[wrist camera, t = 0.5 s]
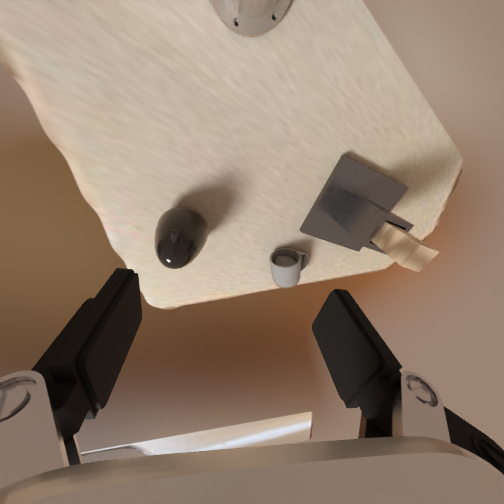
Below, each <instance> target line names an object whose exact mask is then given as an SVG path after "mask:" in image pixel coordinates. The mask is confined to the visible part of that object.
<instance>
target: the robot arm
mask: <svg viewBox="0 0 504 504" xmlns="http://www.w3.org/2000/svg"><path fill="white" fill-rule="evenodd" d="M210 1H211V3H212V6H213V8H214V10H215V12H216V13H217V14H218V16H219V17H220V19H221V20H222V21H223V22H224V23H225V24H226V26H227V27H228V28H230V29H231V30H233V31H234V32H236V33H238V34H240V35H243V36H248V37H255V36H260V35H263V34H265V33H267V32H269V31H270V30H271V29H272V28H274V27H275V26H276V25H277V23H278V22H279V21H280V20H281V19H282V17H283V15H284V14H285V12H286V10H287V8H288V6H289V4H290V2H291V0H210ZM272 16H274V17H275V20H273V19H272ZM235 22H237V23H238V26H235ZM141 320H142V308H141V298H140V287H139V277H138V273H134V271H133V270H132V269H123V268H117V269H116V270H115V271H114V273H113V274H112V275H111V276H110V278H109V279H108V281H107V282H106V283H105V285H104V286H103V287H102V289H101V290H100V291H99V293H98V294H97V295H96V297H95V298H89V299H87V300H86V301H85V302H84V303H83V304H82V306H81V307H80V308H79V310H78V311H77V312H76V314H75V315H74V316H73V317H72V319H71V320H70V321H69V322H68V324H67V325H66V326H65V327H64V329H63V330H62V331H61V333H60V334H59V335H58V336H57V338H56V339H55V340H54V342H53V343H52V344H51V345H50V347H49V348H48V349H47V350H46V352H45V353H44V354H43V356H42V357H41V358H40V360H39V361H38V362H37V363H36V365H35V366H34V367H33V368H32V370H31V371H27V370H26V371H20V372H15V373H12V374H9V375H7V376H4V377H2V378H0V504H504V450H503V449H502V448H501V447H500V446H499V445H497V444H496V443H495V442H494V441H493V440H492V439H491V438H489V437H488V436H487V435H485V434H484V433H482V432H481V431H479V430H478V429H477V428H475V427H474V426H472V425H471V424H469V423H468V422H466V421H465V420H463V419H462V418H460V417H459V416H458V415H456V414H454V413H453V412H452V411H450V410H449V409H447V408H446V407H444V406H443V402H442V400H441V397H440V396H439V394H438V392H437V391H436V390H435V388H434V387H433V386H432V385H431V384H430V383H429V382H428V381H427V380H426V379H424V378H423V377H421V376H420V375H418V374H416V373H414V372H411V371H404V372H403V373H402V374H401V372H400V371H399V370H400V369H401V368H402V366H401V364H400V363H399V362H398V360H397V359H396V358H395V356H394V355H393V354H392V352H391V350H390V349H389V348H388V346H387V345H386V343H385V342H384V341H383V339H382V338H381V337H380V335H379V334H378V332H377V331H376V330H375V328H374V327H373V325H372V324H371V323H370V321H369V320H368V318H367V317H366V316H365V314H364V313H363V311H362V310H361V309H360V307H359V306H358V304H357V303H356V302H355V300H354V299H353V297H352V296H351V295H350V293H349V292H348V291H347V290H341V289H335V290H333V291H332V292H331V293H330V294H329V296H328V298H327V299H326V301H325V303H324V305H323V306H322V308H321V310H320V312H319V313H318V315H317V317H316V319H315V320H314V322H313V324H312V330H313V333H314V336H315V338H316V340H317V343H318V345H319V348H320V350H321V353H322V355H323V357H324V360H325V362H326V365H327V367H328V369H329V372H330V374H331V377H332V379H333V382H334V384H335V387H336V389H337V392H338V394H339V396H340V398H341V399H342V400H343V401H344V403H345V405H346V407H347V408H357V407H358V406H359V407H360V409H361V411H362V413H361V420H360V428H359V436H358V439H350V440H337V441H323V442H309V443H297V444H284V445H271V446H259V447H246V448H234V449H222V450H210V451H198V452H186V453H174V454H163V455H152V456H143V457H133V458H124V459H114V460H104V461H98V462H91V463H85V464H84V463H83V460H82V456H81V453H80V449H79V446H78V442H77V439H76V435H75V434H76V433H77V432H79V429H80V427H81V425H82V423H83V421H84V419H95V417H96V415H97V412H98V410H99V409H103V408H104V407H105V405H106V404H107V401H108V399H109V397H110V394H111V392H112V389H113V387H114V385H115V382H116V380H117V378H118V375H119V373H120V371H121V368H122V366H123V363H124V361H125V359H126V356H127V354H128V351H129V349H130V347H131V344H132V342H133V340H134V337H135V335H136V333H137V330H138V328H139V325H140V323H141Z"/></svg>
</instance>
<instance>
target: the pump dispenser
mask: <svg viewBox="0 0 504 504" xmlns="http://www.w3.org/2000/svg"><path fill="white" fill-rule="evenodd" d="M207 238H208V226H207V223H206V221H205V220H204V218H203V217H202V216H201V215H200V214H199V213H197V212H196V211H194V210H192V209H190V208H185V207H177V208H172V209H170V210H168V211H166V212H165V213H164V214H163V215H162V216H161V217H160V219H159V221H158V223H157V227H156V231H155V252H156V255H157V257H158V259H159V261H160V262H161V263H162V264H163V265H164V266H165V267H167V268H171V269H179V268H182V267H185V266H187V265H188V264H190V263H191V262H192V261H193V260H194V259H195V258H196V257H197V256H198V255H199V253H200V252H201V251H202V249H203V247H204V245H205V243H206V241H207Z"/></svg>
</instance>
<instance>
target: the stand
mask: <svg viewBox="0 0 504 504" xmlns="http://www.w3.org/2000/svg"><path fill="white" fill-rule="evenodd" d="M407 190H408V187H406V186H404V185H402V184H400V183H398V182H396V181H394V180H393V179H391V178H389V177H387V176H385V175H383V174H381V173H379V172H377V171H375V170H373V169H371V168H369V167H367V166H365V165H363V164H361V163H359V162H357V161H355V160H353V159H351V158H349V157H347V156H344V155H342V156H341V158H340V160H339V161H338V163H337V165H336V167H335V168H334V170H333V172H332V174H331V175H330V177H329V179H328V181H327V182H326V184H325V186H324V188H323V189H322V191H321V193H320V195H319V196H318V198H317V200H316V202H315V203H314V205H313V207H312V209H311V210H310V212H309V214H308V216H307V217H306V219H305V221H304V223H303V224H302V226H301V228H300V231H301V232H302V233H305V234H308V235H311V236H314V237H317V238H320V239H323V240H326V241H329V242H332V243H335V244H338V245H341V246H344V247H346V248H349V249H352V250H355V251H358V252H359V251H360V249H361V248H362V247H363V246H364V247H367V248H370V249H373V250H375V251H378V252H381V253H384V254H386V253H385V252H384V251H383V250H382V249H380V248H379V247H378V246H377V245H376V244H374V243H373V242H372V241H371V240H372V238H373V237H374V236H375V235H376V233H377V232H378V231H379V230H380V228H381V227H382V226H383V225H384V223H385V222H386V221H387V220H388V221H390V222H392V223H394V224H395V225H397V226H398V227H400V228H402V229H403V230H405V231H406V232H409V231H410V229H411V228H412V227H413V226H414V225H413V224H411V223H410V222H408V221H406V220H404V219H402V218H401V217H399V216H397V215H395V214H394V213H392V212H390V211H391V210H392V209H393V207H394V206H395V205H396V204H397V202H398V201H399V200H400V198H401V197H402V196H403V195H404V193H405V192H406V191H407ZM387 255H388V254H387Z"/></svg>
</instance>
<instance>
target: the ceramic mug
mask: <svg viewBox="0 0 504 504" xmlns="http://www.w3.org/2000/svg"><path fill="white" fill-rule="evenodd" d="M301 255H304V260H303V263H302V264H301ZM308 261H309V255H308V254H307V253H305V252H304V251H296V250H294V249H291V248H281V249H278V250H276V251H274V252H273V253H272V254H271V256H270V263H271V271H272V278H273V281H274V282H275V284H276V285H277V286H279V287H282V288H291V287H293V286H295V285H296V284H297V283H298V282H299V279H300V271H302V270H303V269H304V268H305V267H306V266H307V264H308Z"/></svg>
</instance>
